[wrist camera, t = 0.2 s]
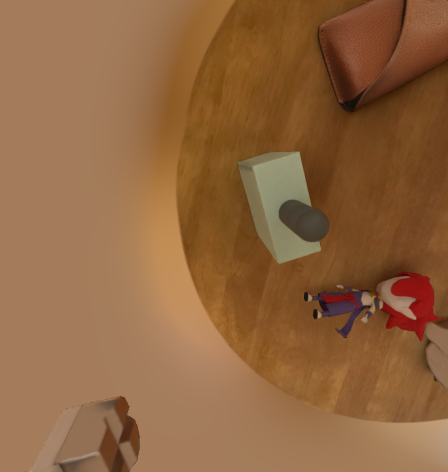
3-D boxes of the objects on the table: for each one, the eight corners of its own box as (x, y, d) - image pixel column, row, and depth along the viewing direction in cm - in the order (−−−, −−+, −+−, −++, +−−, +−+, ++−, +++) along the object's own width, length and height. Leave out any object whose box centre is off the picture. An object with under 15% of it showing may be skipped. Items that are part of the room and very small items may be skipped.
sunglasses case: (493, -81, 27) (578, -87, 22) (476, 8, 32) (542, 19, 27) (310, 28, 28) (355, 44, 23) (321, 98, 33) (360, 122, 28)
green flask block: (257, 234, 33) (303, 299, 19) (237, 162, 31) (270, 171, 16) (288, 224, 33) (359, 281, 19) (270, 151, 31) (334, 151, 16)
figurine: (301, 264, 34) (430, 251, 35) (296, 321, 38) (412, 308, 39) (324, 302, 28) (477, 286, 29) (315, 365, 32) (450, 348, 33)
